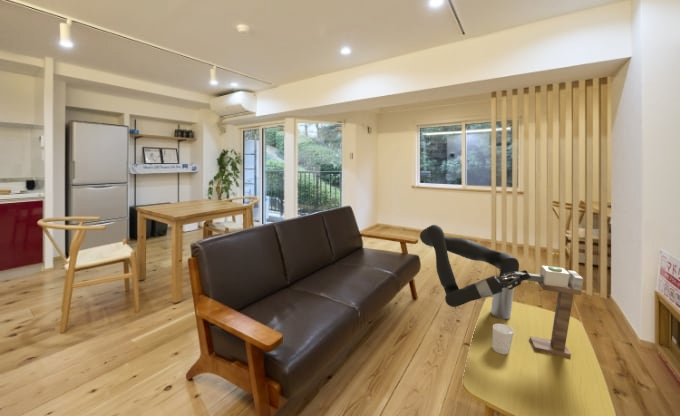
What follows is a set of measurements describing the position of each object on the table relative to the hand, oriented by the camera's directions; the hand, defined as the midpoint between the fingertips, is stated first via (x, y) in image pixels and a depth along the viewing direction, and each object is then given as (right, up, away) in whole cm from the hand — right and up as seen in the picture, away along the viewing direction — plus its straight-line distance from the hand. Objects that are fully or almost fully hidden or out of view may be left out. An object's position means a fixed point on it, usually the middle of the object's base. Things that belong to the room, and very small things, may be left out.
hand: (528, 273), depth 131 cm
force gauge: (+4, -3, -1) cm, 5 cm away
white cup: (-12, -33, 0) cm, 35 cm away
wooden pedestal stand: (+10, -33, +2) cm, 35 cm away
